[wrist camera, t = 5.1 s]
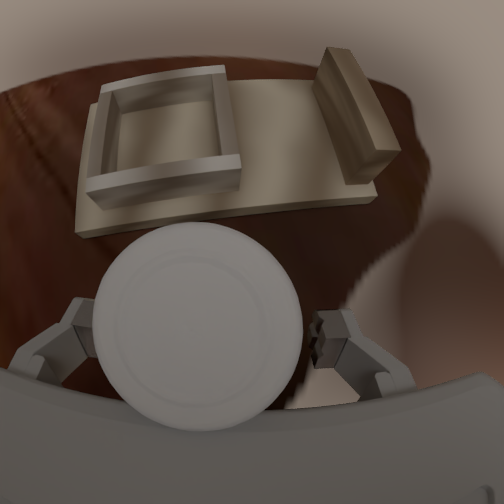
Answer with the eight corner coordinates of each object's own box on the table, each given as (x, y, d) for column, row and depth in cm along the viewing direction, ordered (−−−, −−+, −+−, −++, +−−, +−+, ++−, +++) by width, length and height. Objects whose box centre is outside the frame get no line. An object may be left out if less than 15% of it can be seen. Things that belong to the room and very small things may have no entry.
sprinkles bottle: (166, 310, 18) (54, 285, 5) (225, 275, 19) (229, 177, 6) (204, 370, 17) (164, 469, 4) (263, 333, 18) (349, 359, 5)
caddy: (83, 238, 19) (37, 206, 12) (96, 114, 21) (72, 66, 15) (368, 203, 21) (412, 164, 15) (328, 92, 24) (350, 43, 18)
